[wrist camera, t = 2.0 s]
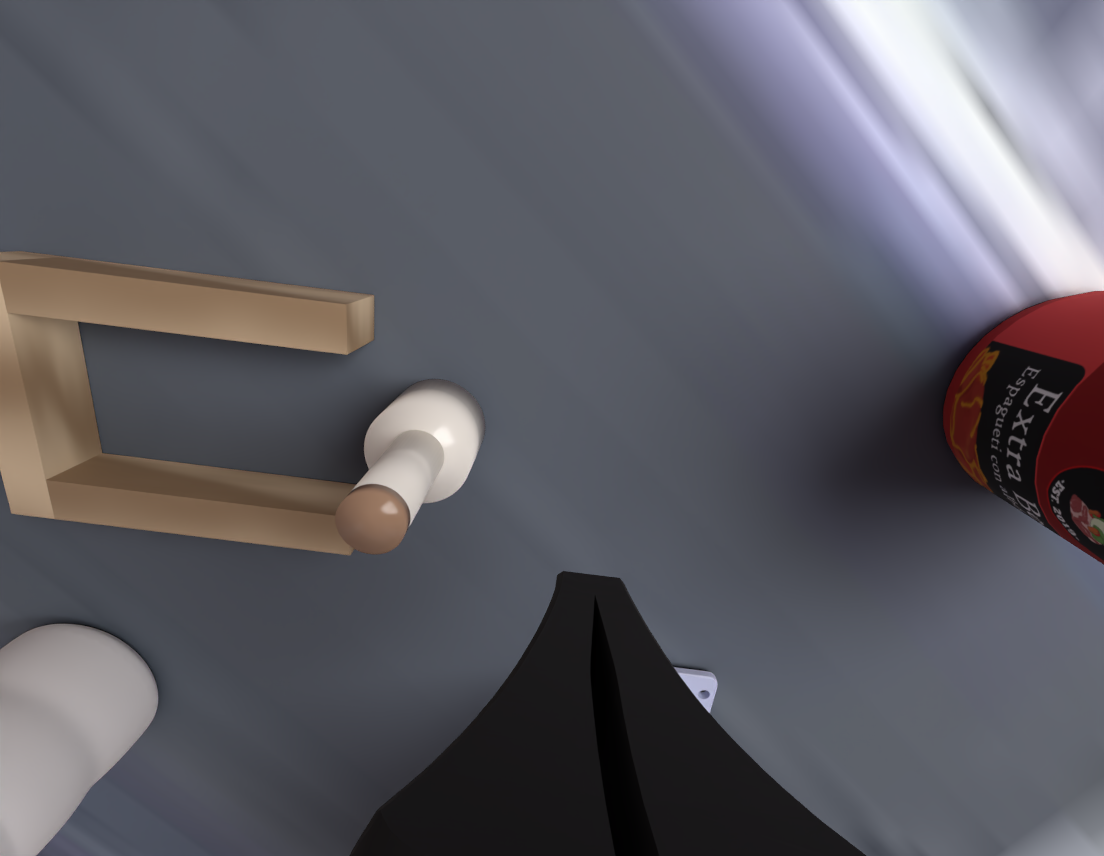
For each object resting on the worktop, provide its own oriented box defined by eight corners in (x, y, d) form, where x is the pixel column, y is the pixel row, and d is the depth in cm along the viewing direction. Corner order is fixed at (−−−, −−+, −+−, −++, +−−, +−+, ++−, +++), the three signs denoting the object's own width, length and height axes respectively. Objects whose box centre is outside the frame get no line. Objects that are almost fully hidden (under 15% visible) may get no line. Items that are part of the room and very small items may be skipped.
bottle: (481, 472, 22) (437, 590, 15) (391, 461, 22) (303, 574, 15) (488, 385, 20) (443, 469, 13) (392, 373, 20) (296, 450, 13)
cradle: (373, 521, 23) (350, 555, 20) (70, 483, 23) (11, 513, 20) (374, 295, 19) (346, 304, 17) (20, 251, 19) (-56, 254, 17)
